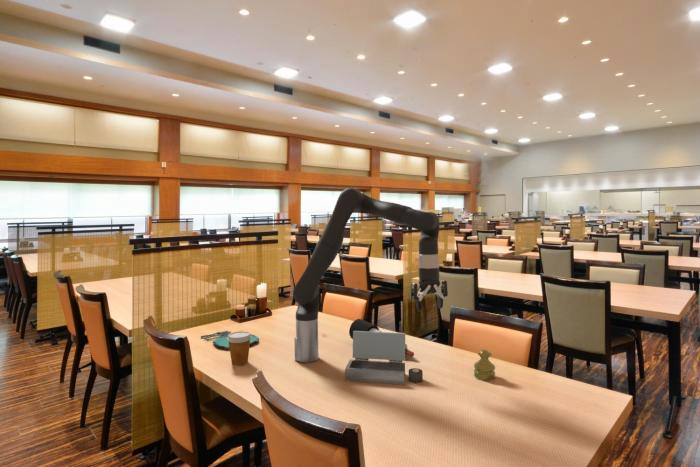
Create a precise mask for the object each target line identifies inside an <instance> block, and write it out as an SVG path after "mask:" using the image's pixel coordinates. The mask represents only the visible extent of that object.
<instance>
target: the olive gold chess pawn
mask: <svg viewBox="0 0 700 467" xmlns="http://www.w3.org/2000/svg"><path fill="white" fill-rule="evenodd" d="M477 356H479V357H480V358H479V360H477V361H476V362H474V364H473V367H474V369H473V372H474V373H473V376H474V377H475V378H476V379H478V380H481V381H493V380H495V379H496V378H495V377H496V375H495V374H496V371H495V370H496V366H495V364H494V363H493V362H492V361H491V360H490V359H489V358H490V357H492V352H491V351H489V350H487V349H481V350H479V351H477Z"/></svg>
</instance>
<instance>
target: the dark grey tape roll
mask: <svg viewBox="0 0 700 467" xmlns="http://www.w3.org/2000/svg"><path fill="white" fill-rule="evenodd" d="M423 375H424V374H423V370H422V369H421V368H418V367H417V368H416V367H413V368H409V369H408V381H409V383H413V384H419V383H422V382H423V381H424V380H423Z"/></svg>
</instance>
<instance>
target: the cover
mask: <svg viewBox="0 0 700 467" xmlns="http://www.w3.org/2000/svg"><path fill="white" fill-rule="evenodd" d="M405 344H406V333H405V332H386V331H385V332H383V331H381V332H367V331H353V339H352V358H353V359H354V360H368V361H369V360H380V361H388V362H402V363H403V362H405V361H406V355H405Z"/></svg>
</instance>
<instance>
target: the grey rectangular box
mask: <svg viewBox="0 0 700 467" xmlns="http://www.w3.org/2000/svg"><path fill="white" fill-rule="evenodd" d="M344 374H345V375H344V381H345V382H357V383H358V382H359V383H360V382H361V383H370V384H371V383H374V384H389V385H405V376H406V362H403V361H402V362H389V361H386V360H369V359H368V360H355V359H349V361H348V362H347V364H346V366H345V368H344Z"/></svg>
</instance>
